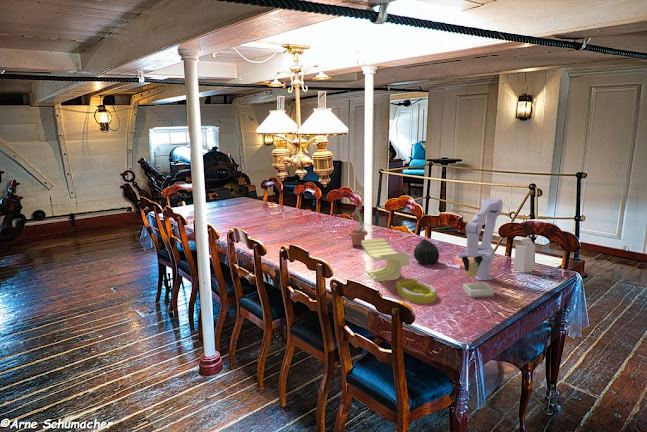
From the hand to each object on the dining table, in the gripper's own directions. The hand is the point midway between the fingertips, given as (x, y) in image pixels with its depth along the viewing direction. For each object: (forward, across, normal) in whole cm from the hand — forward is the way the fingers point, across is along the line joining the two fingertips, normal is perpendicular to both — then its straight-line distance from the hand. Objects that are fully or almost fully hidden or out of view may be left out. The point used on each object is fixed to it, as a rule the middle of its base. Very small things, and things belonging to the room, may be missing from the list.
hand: (471, 270), depth 214 cm
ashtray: (+10, -31, -7) cm, 33 cm away
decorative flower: (+9, -45, +87) cm, 99 cm away
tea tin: (+2, 0, 0) cm, 2 cm away
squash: (+9, -10, +42) cm, 44 cm away
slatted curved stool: (+9, -41, +22) cm, 47 cm away
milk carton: (+9, +40, +20) cm, 46 cm away
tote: (+9, 0, -9) cm, 13 cm away
